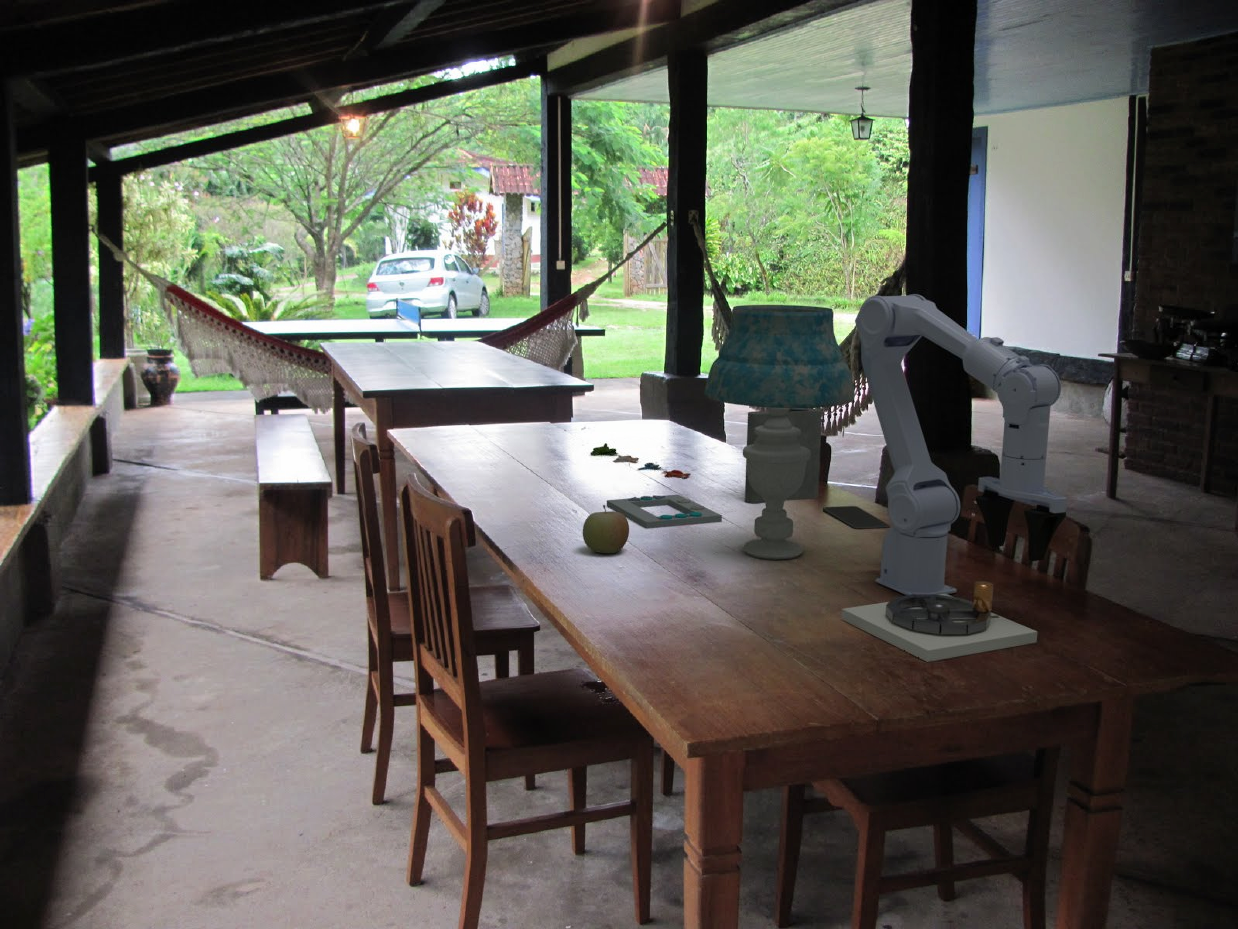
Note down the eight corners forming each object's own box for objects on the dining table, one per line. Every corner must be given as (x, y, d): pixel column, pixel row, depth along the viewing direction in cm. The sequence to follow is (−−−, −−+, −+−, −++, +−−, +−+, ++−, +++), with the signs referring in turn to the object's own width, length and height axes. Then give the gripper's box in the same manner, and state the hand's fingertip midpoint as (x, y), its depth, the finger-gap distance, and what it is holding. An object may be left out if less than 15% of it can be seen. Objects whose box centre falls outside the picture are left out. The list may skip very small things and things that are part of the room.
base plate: (841, 619, 169) (842, 608, 169) (944, 603, 177) (945, 592, 176) (927, 662, 153) (928, 649, 153) (1036, 642, 161) (1037, 631, 160)
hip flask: (749, 504, 236) (753, 401, 233) (739, 499, 240) (743, 398, 236) (821, 498, 242) (825, 397, 239) (810, 494, 246) (814, 395, 242)
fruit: (603, 560, 196) (604, 512, 195) (574, 551, 202) (574, 503, 200) (638, 552, 201) (639, 505, 200) (609, 543, 207) (610, 497, 205)
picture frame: (606, 497, 233) (678, 492, 239) (606, 509, 233) (677, 503, 239) (646, 519, 216) (722, 512, 222) (646, 532, 217) (721, 525, 223)
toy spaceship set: (582, 455, 285) (582, 442, 284) (604, 453, 289) (604, 440, 288) (673, 483, 257) (673, 469, 256) (697, 479, 260) (697, 465, 260)
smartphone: (854, 527, 218) (820, 507, 232) (854, 532, 218) (820, 511, 233) (892, 526, 220) (856, 505, 234) (892, 531, 220) (856, 510, 234)
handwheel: (903, 634, 158) (905, 599, 157) (875, 602, 171) (877, 570, 170) (1008, 634, 158) (1011, 599, 158) (973, 602, 171) (975, 570, 170)
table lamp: (753, 580, 186) (763, 315, 179) (673, 543, 207) (679, 304, 199) (876, 562, 198) (891, 311, 190) (788, 528, 218) (798, 301, 210)
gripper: (1087, 463, 161) (1078, 563, 164) (1008, 444, 174) (1001, 537, 177) (1046, 467, 158) (1038, 568, 161) (969, 447, 171) (962, 542, 174)
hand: (1016, 552), depth 169 cm, fingers open, 7 cm apart
